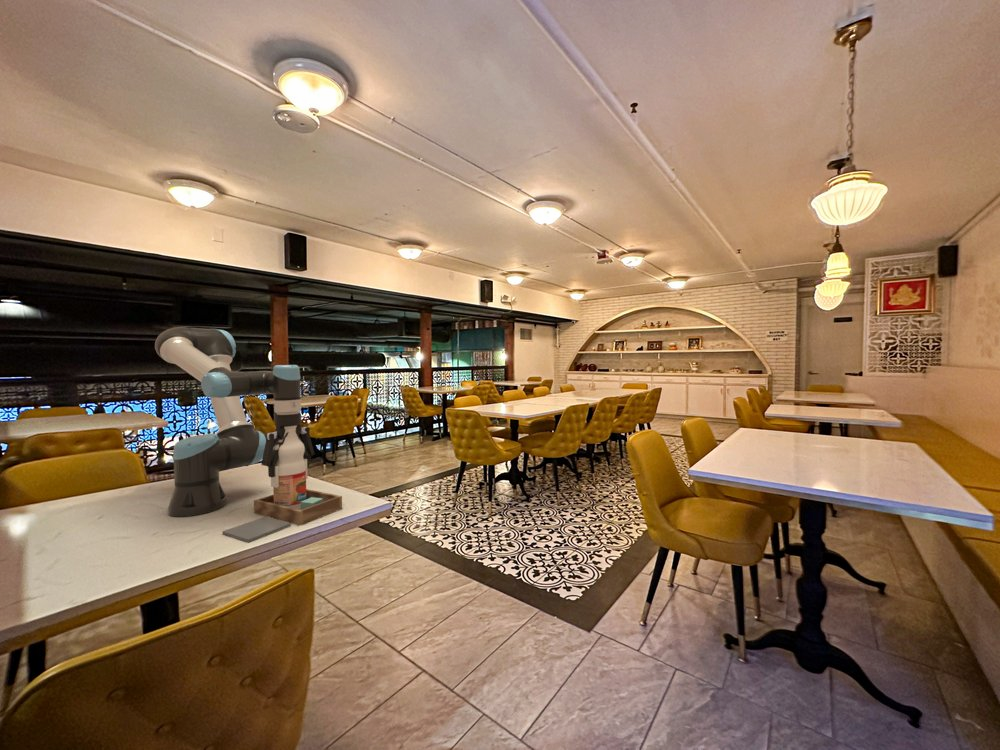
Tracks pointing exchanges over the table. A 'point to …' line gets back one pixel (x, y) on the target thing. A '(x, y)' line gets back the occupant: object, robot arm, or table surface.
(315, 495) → the brown wooden tray
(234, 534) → the slate coaster
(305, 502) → the teal block
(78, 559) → the table surface
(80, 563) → the table surface
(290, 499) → the fruit juice
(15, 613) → the table surface
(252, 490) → the table surface
